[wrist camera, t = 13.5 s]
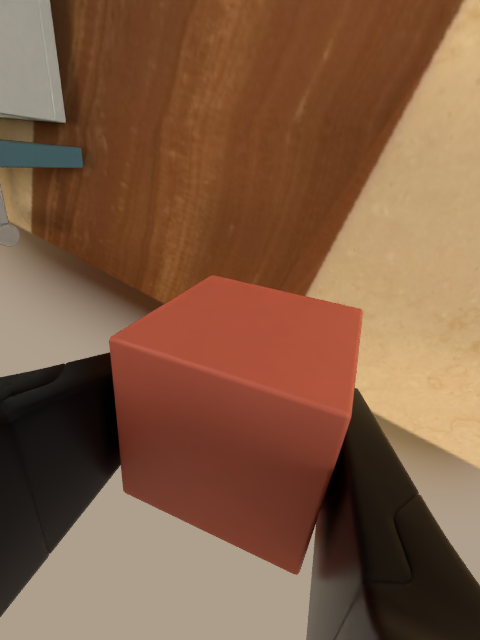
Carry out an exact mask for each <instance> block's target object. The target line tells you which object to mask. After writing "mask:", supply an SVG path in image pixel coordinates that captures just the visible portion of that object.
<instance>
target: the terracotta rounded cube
mask: <svg viewBox="0 0 480 640" xmlns="http://www.w3.org/2000/svg"><path fill="white" fill-rule="evenodd" d="M362 316H363V311H362V310H361V309H358V308H354V307H350V306H345V305H341V304H336V303H332V302H328V301H323V300H319V299H315V298H310V297H306V296H301V295H297V294H293V293H288V292H284V291H280V290H275V289H271V288H267V287H262V286H258V285H253V284H249V283H245V282H240V281H236V280H232V279H227V278H223V277H218V276H214V275H212V276H210V277H208V278H206V279H205V280H203V281H201V282H200V283H198V284H196V285H195V286H193V287H192V288H190V289H188V290H187V291H185V292H183V293H182V294H180V295H179V296H177V297H175V298H174V299H172V300H170V301H169V302H167V303H165V304H164V305H163V306H161V307H159V308H157V309H156V310H154V311H152V312H151V313H149V314H148V315H146V316H144V317H143V318H141V319H139V320H138V321H136V322H134V323H133V324H131V325H130V326H128V327H126V328H125V329H123V330H121V331H120V332H118V333H116V334H115V335H113V336H112V337H111V338H110V340H109V344H110V355H111V366H112V376H113V387H114V397H115V408H116V418H117V429H118V439H119V450H120V460H121V469H122V470H121V471H122V481H123V490H124V492H125V493H127V494H129V495H131V496H133V497H135V498H137V499H139V500H141V501H143V502H145V503H148V504H150V505H152V506H154V507H156V508H158V509H160V510H162V511H164V512H166V513H168V514H170V515H172V516H175V517H177V518H179V519H181V520H183V521H185V522H187V523H189V524H191V525H193V526H195V527H197V528H199V529H201V530H204V531H206V532H208V533H210V534H212V535H214V536H216V537H218V538H220V539H222V540H224V541H226V542H228V543H231V544H233V545H235V546H237V547H239V548H241V549H243V550H245V551H247V552H250V553H251V554H253V555H255V556H258V557H260V558H262V559H264V560H266V561H268V562H270V563H272V564H274V565H276V566H278V567H280V568H283V569H285V570H287V571H289V572H291V573H293V574H298V573H299V572H300V569H301V566H302V563H303V560H304V557H305V554H306V551H307V548H308V545H309V542H310V539H311V536H312V533H313V530H314V527H315V524H316V521H317V518H318V515H319V512H320V509H321V506H322V503H323V500H324V497H325V494H326V491H327V488H328V485H329V482H330V479H331V476H332V473H333V470H334V467H335V464H336V461H337V458H338V455H339V452H340V449H341V446H342V443H343V440H344V437H345V434H346V431H347V428H348V425H349V422H350V419H351V415H352V406H353V397H354V388H355V379H356V370H357V361H358V352H359V343H360V334H361V325H362Z"/></svg>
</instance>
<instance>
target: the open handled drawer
mask: <svg viewBox="0 0 480 640" xmlns="http://www.w3.org/2000/svg"><path fill="white" fill-rule="evenodd" d="M0 118H8V119H20V120H33V121H46V122H58V123H66V119H65V111H64V104H63V96H62V89H61V81H60V73H59V66H58V58H57V51H56V43H55V35H54V28H53V20H52V13H51V5H50V0H0ZM0 167H27V168H83V160H82V151H81V148H79V147H69V146H60V145H50V144H41V143H32V142H22V141H13V140H3V139H0ZM6 223H9V221H8V217H7V212H6V208H5V204H4V199H3V195H2V191H1V186H0V245H4V246H10V247H11V246H14V245H16V244H17V243H18V242H19V239H20V233H19V231H18V229H17V228H16V227H15V226H13V225H10V224H6Z"/></svg>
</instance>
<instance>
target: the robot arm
mask: <svg viewBox="0 0 480 640" xmlns="http://www.w3.org/2000/svg"><path fill="white" fill-rule="evenodd" d="M120 465H121V460H120V450H119V439H118V429H117V418H116V408H115V397H114V387H113V376H112V366H111V355H110V353H106V354H102V355H97V356H93V357H89V358H85V359H81V360H77V361H73V362H69V363H66V365H65V364H60V365H56V366H52V367H48V368H43V369H39V370H35V371H30V372H25V373H20V374H16V375H10V376H5V377H0V617H1V616H2V614H3V613H4V612H5V611H6V609H7V608H8V607H9V606H10V604H11V603H12V602H13V601H14V599H15V598H16V596H18V594H19V593H20V592H21V590H22V589H23V588H24V587H25V585H26V584H27V583H28V582H29V580H30V579H31V578H32V576H33V575H34V574H35V573H36V571H37V570H38V569H39V568H40V566H41V565H42V564H43V563H44V561H45V560H46V559H47V558H48V556H49V554H50V553H51V552H52V551H53V550H54V548H55V547H56V546H57V545H58V543H59V542H60V541H61V539H62V538H63V537H64V536H65V535H66V533H67V532H68V531H69V530H70V528H71V527H72V526H73V524H74V523H75V522H76V521H77V519H78V518H79V517H80V516H81V514H82V513H83V512H84V511H85V509H86V508H87V507H88V506H89V504H90V503H91V502H92V500H93V499H94V498H95V497H96V495H97V494H98V493H99V492H100V490H101V489H102V488H103V486H104V485H105V484H106V483H107V481H108V480H109V479H110V478H111V477H112V475H113V474H114V473H115V471H116V470H117V469H118V468H119V466H120ZM418 494H419V492H418V490H417V489H416V487H415V485H414V483H413V482H412V480H411V478H410V477H409V475H408V473H407V472H406V470H405V468H404V466H403V465H402V463H401V462H400V460H399V458H398V457H397V455H396V453H395V451H394V449H393V448H392V446H391V444H390V443H389V441H388V439H387V438H386V436H385V434H384V433H383V431H382V429H381V428H380V426H379V424H378V422H377V421H376V419H375V417H374V415H373V414H372V412H371V410H370V409H369V407H368V405H367V404H366V402H365V400H364V398H363V397H362V395H361V393H360V392H359V390H358V389H357V388H354V397H353V406H352V415H351V419H350V422H349V425H348V428H347V431H346V434H345V437H344V440H343V443H342V446H341V449H340V452H339V455H338V458H337V461H336V464H335V467H334V470H333V473H332V476H331V479H330V482H329V485H328V488H327V491H326V494H325V497H324V500H323V503H322V506H321V509H320V512H319V515H318V518H317V521H316V533H315V544H314V545H315V546H314V555H313V567H312V579H311V591H310V603H309V616H308V627H307V638H306V640H480V585H479V584H478V582H477V581H476V580H475V578H474V577H473V575H472V574H471V572H470V571H469V570H468V568H467V567H466V565H465V564H464V562H463V561H462V559H461V558H460V557H459V555H458V554H457V552H456V551H455V550H454V548H453V546H452V545H451V544H450V542H449V540H448V539H447V538H446V536H445V534H444V533H443V531H442V530H441V528H440V526H439V525H438V523H437V522H436V520H435V518H434V517H433V515H432V514H431V512H430V510H429V509H428V507H427V505H426V503H425V502H424V500H423V499H422V497H421V495H418Z"/></svg>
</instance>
